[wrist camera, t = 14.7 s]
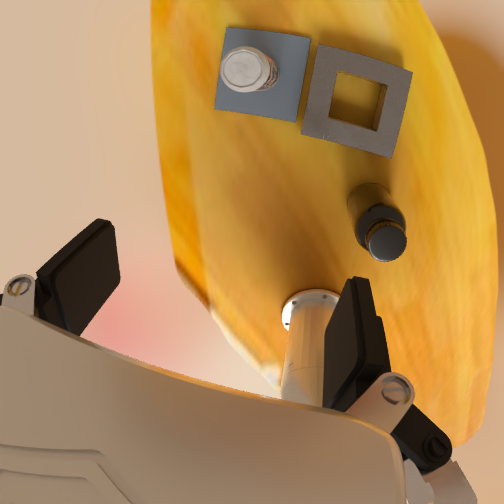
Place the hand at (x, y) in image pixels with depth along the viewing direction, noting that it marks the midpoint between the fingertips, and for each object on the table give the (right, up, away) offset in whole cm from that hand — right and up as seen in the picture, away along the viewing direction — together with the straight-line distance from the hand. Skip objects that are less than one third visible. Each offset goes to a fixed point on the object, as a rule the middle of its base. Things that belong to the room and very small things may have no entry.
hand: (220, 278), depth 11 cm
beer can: (+2, +24, +22) cm, 33 cm away
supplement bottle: (+18, +8, +30) cm, 36 cm away
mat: (+3, +24, +23) cm, 34 cm away
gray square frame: (+15, +21, +23) cm, 34 cm away
